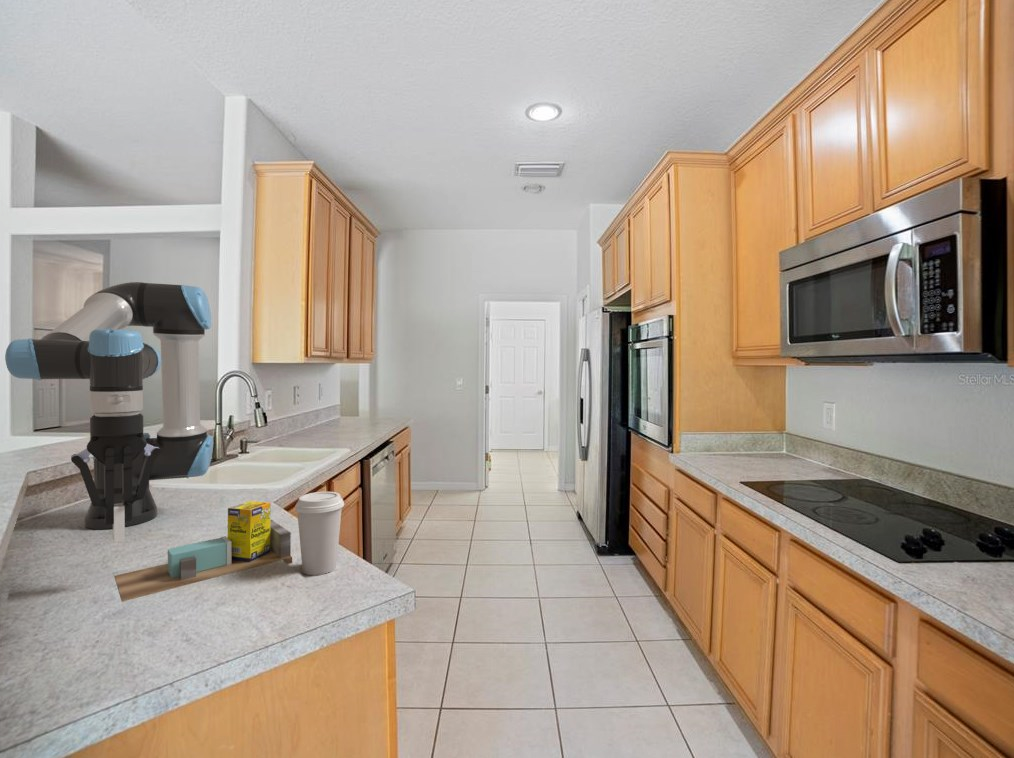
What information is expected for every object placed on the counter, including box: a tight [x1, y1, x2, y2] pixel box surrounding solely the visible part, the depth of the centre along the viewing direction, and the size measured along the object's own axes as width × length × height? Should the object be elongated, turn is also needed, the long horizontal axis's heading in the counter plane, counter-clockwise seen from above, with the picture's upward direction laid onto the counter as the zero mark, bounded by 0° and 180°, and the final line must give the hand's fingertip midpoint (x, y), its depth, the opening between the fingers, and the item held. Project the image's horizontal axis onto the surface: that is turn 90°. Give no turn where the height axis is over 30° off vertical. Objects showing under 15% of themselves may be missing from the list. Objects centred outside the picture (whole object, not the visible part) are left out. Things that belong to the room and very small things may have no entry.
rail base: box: [114, 519, 293, 602], centre depth 94 cm, size 14×28×6 cm, turn 134°
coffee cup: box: [294, 491, 345, 576], centre depth 96 cm, size 10×10×15 cm
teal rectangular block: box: [167, 535, 232, 578], centre depth 93 cm, size 5×10×5 cm, turn 134°
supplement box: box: [227, 500, 272, 562], centre depth 99 cm, size 6×6×11 cm
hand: (118, 539), depth 86 cm, fingers closed
